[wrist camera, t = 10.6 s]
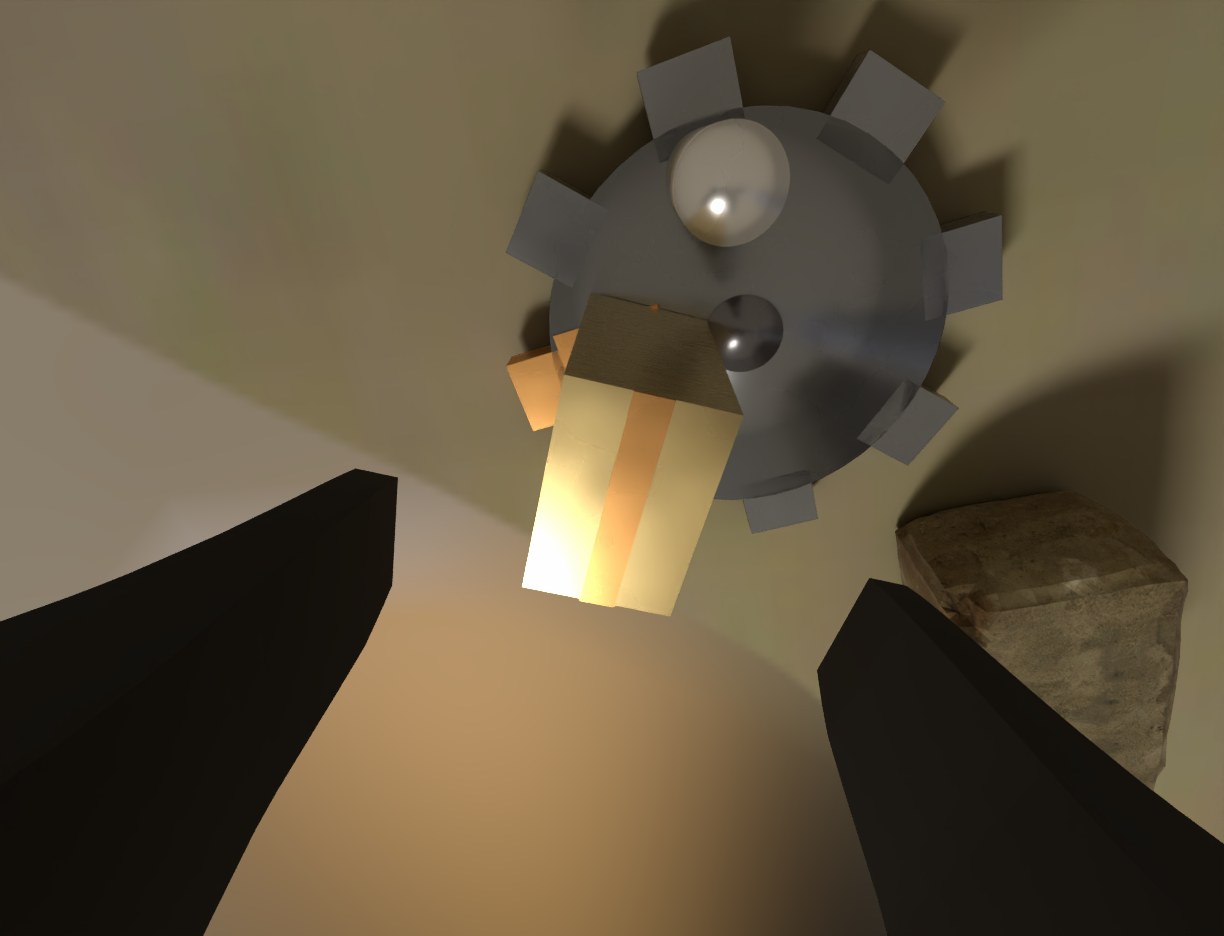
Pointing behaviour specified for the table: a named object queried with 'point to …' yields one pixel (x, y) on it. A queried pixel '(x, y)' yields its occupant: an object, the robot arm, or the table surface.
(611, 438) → the tan rectangular block
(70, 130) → the table surface
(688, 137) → the sprocket
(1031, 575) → the stone block
